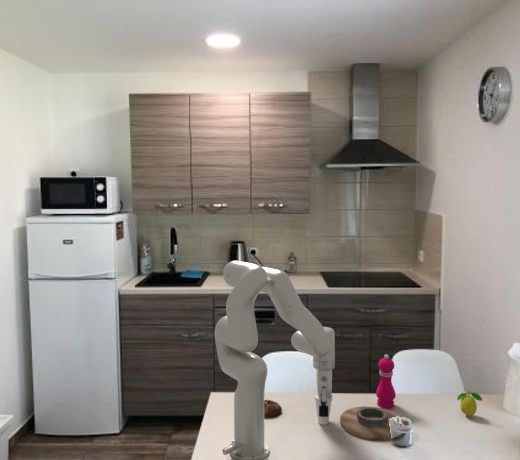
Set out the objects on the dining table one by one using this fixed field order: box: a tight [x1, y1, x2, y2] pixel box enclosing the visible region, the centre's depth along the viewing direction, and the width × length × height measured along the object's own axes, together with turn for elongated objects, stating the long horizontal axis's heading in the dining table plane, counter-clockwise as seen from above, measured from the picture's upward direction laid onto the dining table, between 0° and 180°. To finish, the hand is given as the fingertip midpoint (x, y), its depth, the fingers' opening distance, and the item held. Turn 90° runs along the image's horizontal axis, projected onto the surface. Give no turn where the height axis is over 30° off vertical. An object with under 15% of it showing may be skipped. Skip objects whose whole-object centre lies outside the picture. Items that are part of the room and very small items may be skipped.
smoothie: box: [313, 392, 333, 426], centre depth 172 cm, size 6×6×14 cm
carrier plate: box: [339, 406, 399, 441], centre depth 171 cm, size 22×22×4 cm
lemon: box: [456, 391, 483, 417], centre depth 177 cm, size 7×6×10 cm
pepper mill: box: [375, 353, 396, 410], centre depth 185 cm, size 7×7×20 cm
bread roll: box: [264, 399, 283, 418], centre depth 181 cm, size 11×11×5 cm
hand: (323, 411), depth 172 cm, fingers closed on smoothie, 5 cm apart
